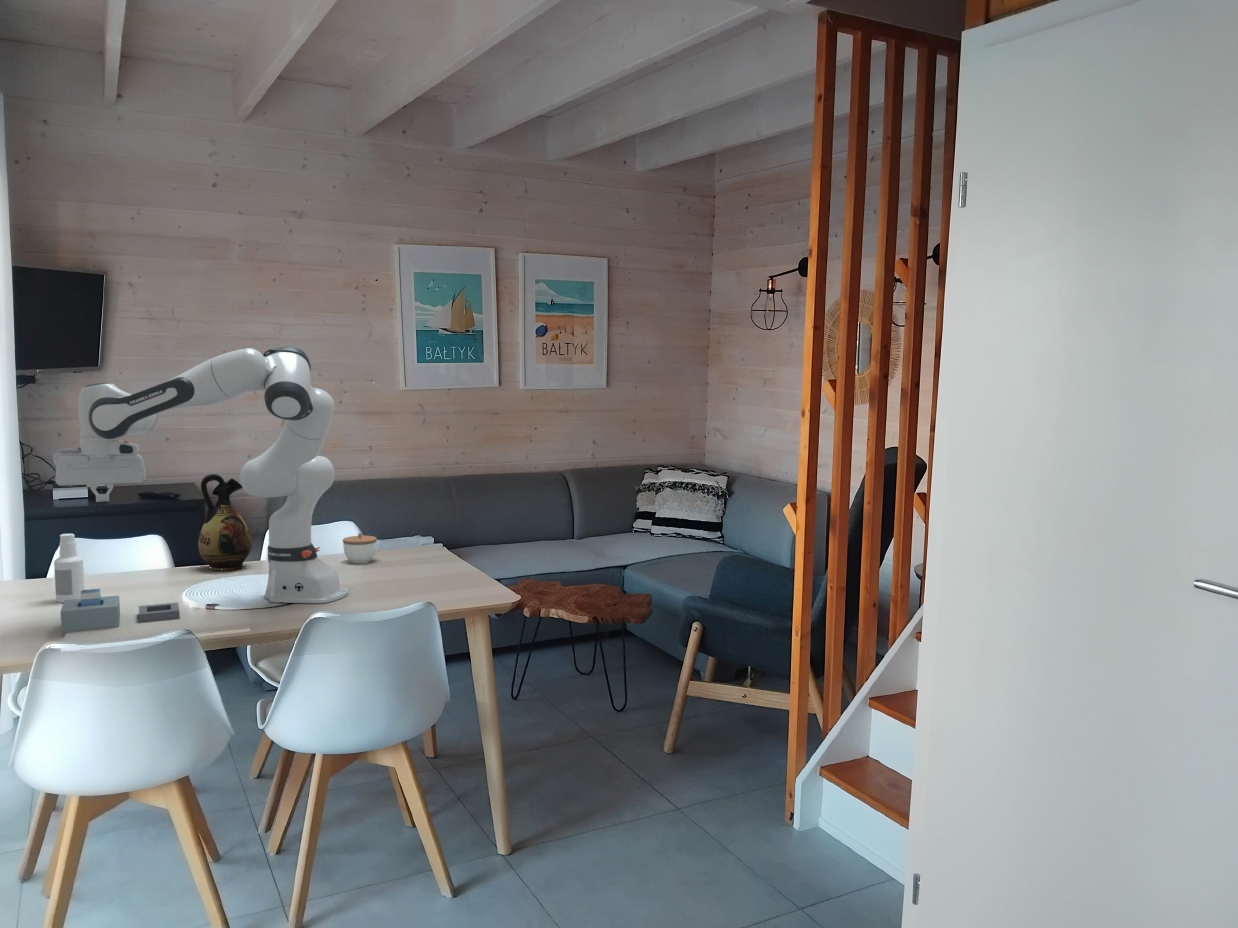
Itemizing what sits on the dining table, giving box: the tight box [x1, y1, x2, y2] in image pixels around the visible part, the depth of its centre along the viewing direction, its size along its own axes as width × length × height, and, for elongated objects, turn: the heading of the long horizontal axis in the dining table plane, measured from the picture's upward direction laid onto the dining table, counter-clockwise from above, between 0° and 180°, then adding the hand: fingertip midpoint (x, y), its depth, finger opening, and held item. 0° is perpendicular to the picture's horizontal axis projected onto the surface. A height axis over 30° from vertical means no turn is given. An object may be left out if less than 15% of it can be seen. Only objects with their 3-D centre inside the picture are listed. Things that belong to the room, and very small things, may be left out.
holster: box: [138, 602, 181, 624], centre depth 240 cm, size 9×9×3 cm
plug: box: [80, 588, 102, 607], centre depth 233 cm, size 4×4×9 cm
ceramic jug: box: [198, 473, 253, 572], centre depth 299 cm, size 17×15×30 cm
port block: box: [60, 594, 121, 637], centre depth 233 cm, size 12×12×6 cm
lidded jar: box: [342, 533, 378, 565], centre depth 312 cm, size 11×11×9 cm
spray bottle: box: [53, 533, 85, 604], centre depth 259 cm, size 7×7×18 cm
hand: (102, 501), depth 243 cm, fingers closed
